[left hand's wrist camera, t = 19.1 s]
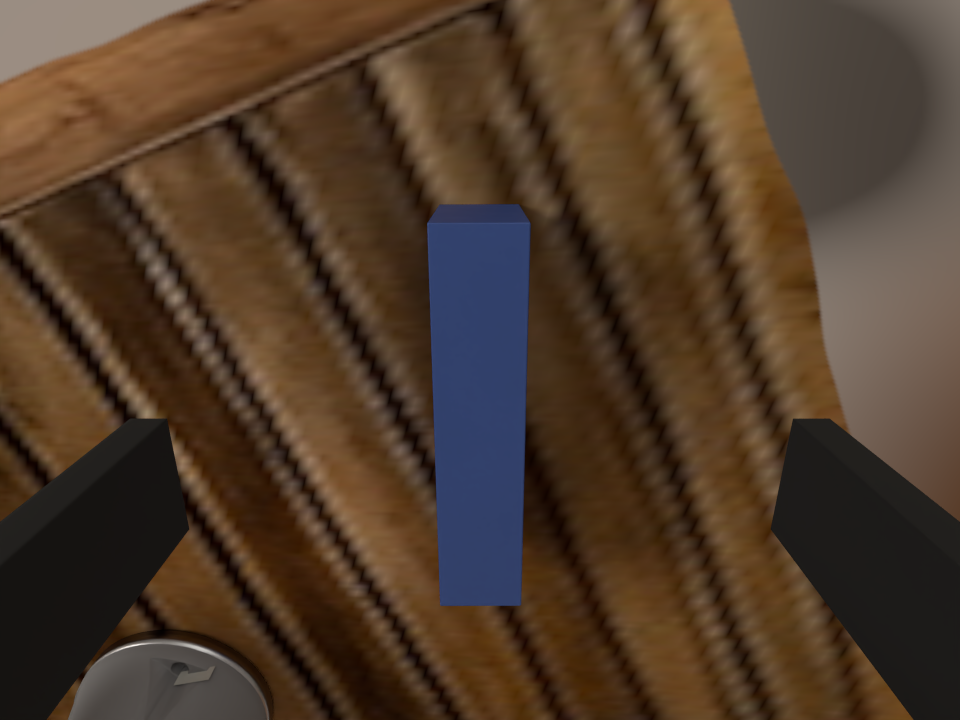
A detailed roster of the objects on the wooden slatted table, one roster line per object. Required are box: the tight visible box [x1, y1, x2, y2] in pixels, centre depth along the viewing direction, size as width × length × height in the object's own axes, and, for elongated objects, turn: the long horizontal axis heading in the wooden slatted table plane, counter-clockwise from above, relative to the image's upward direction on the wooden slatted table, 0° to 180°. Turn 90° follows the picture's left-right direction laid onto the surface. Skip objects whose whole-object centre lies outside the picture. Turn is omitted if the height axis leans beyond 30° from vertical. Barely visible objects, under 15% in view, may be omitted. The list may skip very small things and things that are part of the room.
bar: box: [427, 204, 531, 606], centre depth 36 cm, size 23×5×9 cm, turn 0°
